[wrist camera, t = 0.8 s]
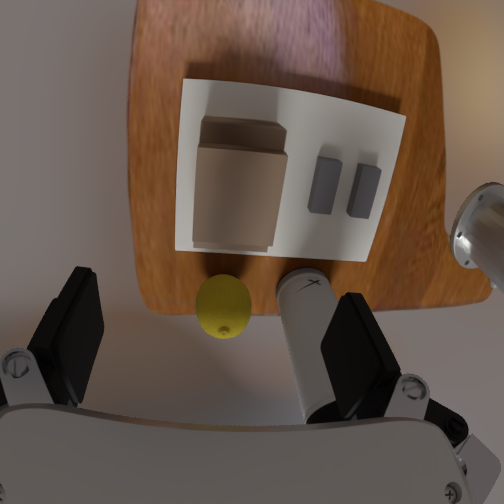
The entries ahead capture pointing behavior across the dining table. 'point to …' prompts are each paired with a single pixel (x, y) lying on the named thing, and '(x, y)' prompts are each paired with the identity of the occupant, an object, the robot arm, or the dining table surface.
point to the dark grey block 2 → (363, 191)
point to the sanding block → (238, 183)
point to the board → (296, 163)
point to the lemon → (223, 306)
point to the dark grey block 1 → (324, 185)
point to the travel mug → (309, 340)
